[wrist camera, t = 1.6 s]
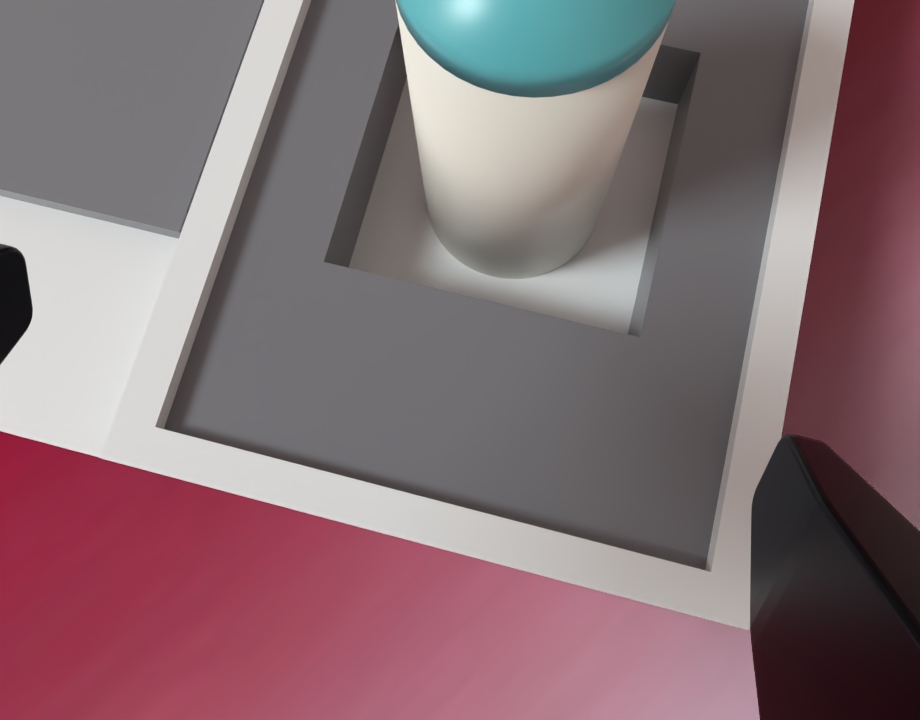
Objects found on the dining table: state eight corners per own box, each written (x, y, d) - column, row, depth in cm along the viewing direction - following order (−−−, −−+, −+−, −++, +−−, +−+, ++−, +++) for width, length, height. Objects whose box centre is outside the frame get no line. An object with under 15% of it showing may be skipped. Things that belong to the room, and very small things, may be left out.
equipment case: (699, 615, 21) (748, 630, 17) (-236, 367, 23) (-379, 330, 19) (814, -20, 25) (875, -123, 22) (18, -178, 28) (-57, -297, 24)
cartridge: (628, 243, 23) (741, 9, 13) (462, 304, 22) (449, 111, 12) (561, 95, 24) (618, -223, 14) (402, 151, 23) (346, -134, 14)
